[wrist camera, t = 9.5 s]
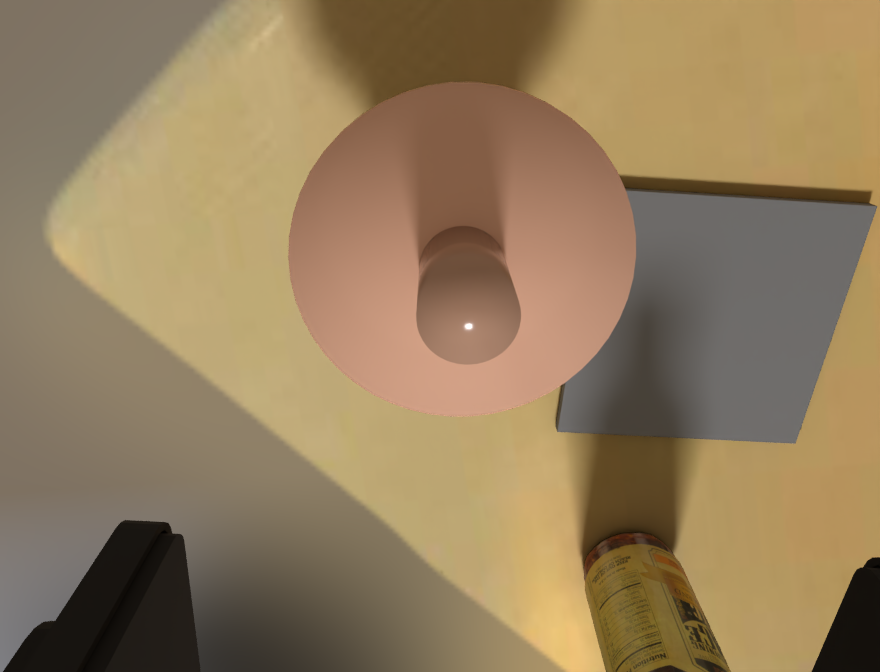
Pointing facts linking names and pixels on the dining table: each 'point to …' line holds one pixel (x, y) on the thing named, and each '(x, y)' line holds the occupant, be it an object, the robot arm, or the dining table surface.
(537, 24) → the dining table surface
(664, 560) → the sauce bottle
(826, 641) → the robot arm
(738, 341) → the mat
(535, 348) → the lid
